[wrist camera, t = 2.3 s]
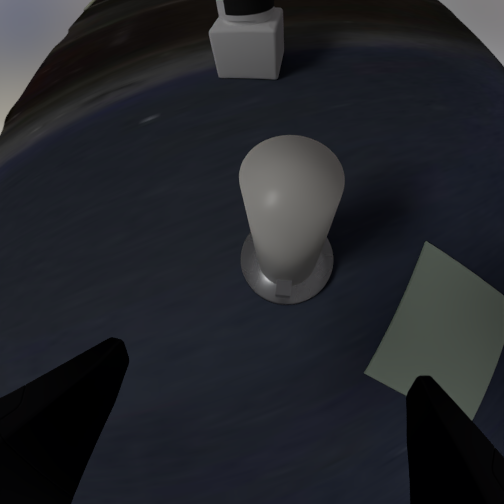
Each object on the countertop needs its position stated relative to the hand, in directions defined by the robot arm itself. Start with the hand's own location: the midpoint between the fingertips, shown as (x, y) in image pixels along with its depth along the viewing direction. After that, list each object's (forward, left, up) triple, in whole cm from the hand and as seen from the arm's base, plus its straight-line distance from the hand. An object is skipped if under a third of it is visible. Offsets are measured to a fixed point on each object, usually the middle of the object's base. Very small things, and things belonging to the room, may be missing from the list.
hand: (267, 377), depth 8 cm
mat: (+9, -12, -13) cm, 20 cm away
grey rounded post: (+7, +3, -13) cm, 15 cm away
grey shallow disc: (+7, +3, -13) cm, 15 cm away
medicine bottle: (+27, +19, -14) cm, 36 cm away
